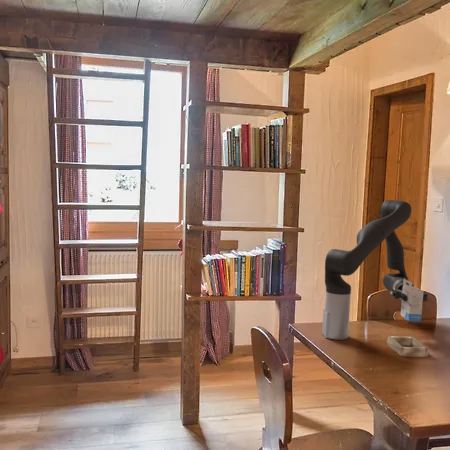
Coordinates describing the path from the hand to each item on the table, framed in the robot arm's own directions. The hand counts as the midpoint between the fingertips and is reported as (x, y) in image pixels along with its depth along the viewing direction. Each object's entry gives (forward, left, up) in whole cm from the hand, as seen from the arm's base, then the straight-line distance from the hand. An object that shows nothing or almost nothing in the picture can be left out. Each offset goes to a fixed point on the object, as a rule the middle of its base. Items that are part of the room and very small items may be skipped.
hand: (414, 299), depth 188 cm
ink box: (0, +2, -8) cm, 9 cm away
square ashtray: (-5, -10, -16) cm, 20 cm away
